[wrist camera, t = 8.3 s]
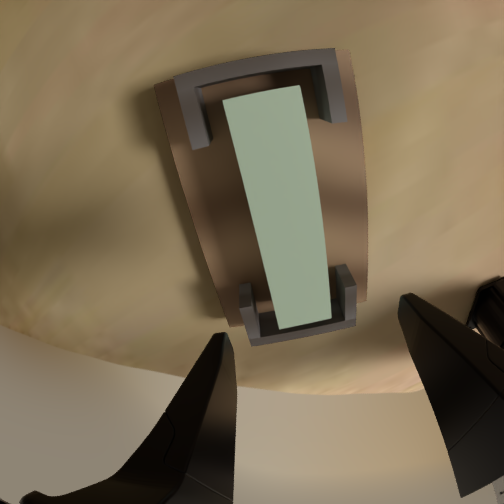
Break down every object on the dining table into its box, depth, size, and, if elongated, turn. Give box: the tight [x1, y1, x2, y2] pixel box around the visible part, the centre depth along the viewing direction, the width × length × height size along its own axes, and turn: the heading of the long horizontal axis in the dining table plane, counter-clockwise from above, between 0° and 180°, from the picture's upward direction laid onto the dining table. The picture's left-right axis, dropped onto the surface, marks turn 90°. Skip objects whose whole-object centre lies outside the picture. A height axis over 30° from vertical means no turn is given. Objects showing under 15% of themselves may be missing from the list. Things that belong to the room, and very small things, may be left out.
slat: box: [222, 85, 332, 329], centre depth 16 cm, size 14×4×3 cm, turn 13°
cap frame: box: [154, 48, 368, 347], centre depth 17 cm, size 18×11×4 cm, turn 12°
